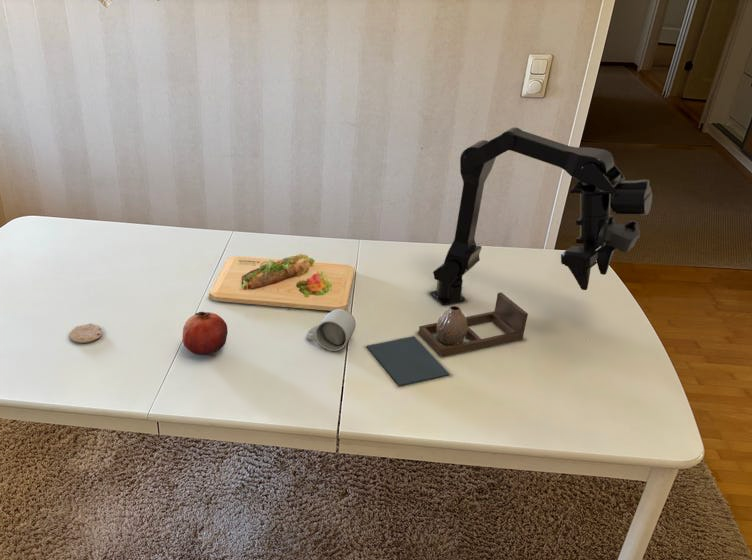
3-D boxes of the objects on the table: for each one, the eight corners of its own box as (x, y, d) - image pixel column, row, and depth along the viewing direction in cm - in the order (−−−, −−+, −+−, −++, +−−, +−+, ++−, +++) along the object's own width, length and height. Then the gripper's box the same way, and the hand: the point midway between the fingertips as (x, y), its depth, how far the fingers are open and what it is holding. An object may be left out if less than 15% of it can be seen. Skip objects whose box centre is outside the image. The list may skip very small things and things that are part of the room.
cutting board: (354, 270, 197) (356, 245, 193) (345, 314, 178) (347, 286, 174) (229, 260, 203) (228, 236, 199) (207, 302, 184) (205, 275, 180)
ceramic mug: (356, 336, 170) (358, 307, 165) (346, 354, 163) (347, 325, 159) (314, 328, 173) (314, 299, 169) (302, 345, 167) (302, 316, 163)
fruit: (192, 368, 160) (189, 329, 154) (176, 346, 167) (172, 308, 161) (236, 355, 164) (234, 317, 158) (218, 334, 171) (216, 297, 165)
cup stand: (418, 333, 171) (421, 307, 167) (496, 317, 176) (501, 292, 172) (441, 357, 162) (445, 330, 158) (522, 339, 168) (528, 313, 164)
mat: (366, 347, 166) (366, 345, 166) (413, 337, 169) (414, 336, 169) (399, 386, 153) (399, 384, 153) (449, 375, 157) (449, 373, 156)
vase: (465, 350, 164) (471, 317, 160) (434, 347, 166) (439, 314, 161) (465, 334, 170) (470, 301, 165) (435, 331, 171) (439, 298, 166)
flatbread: (100, 343, 168) (99, 339, 168) (67, 344, 168) (66, 341, 167) (104, 325, 175) (103, 321, 174) (72, 326, 174) (72, 322, 174)
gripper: (614, 230, 141) (612, 304, 148) (653, 201, 152) (650, 271, 159) (559, 226, 149) (560, 296, 156) (600, 198, 160) (599, 265, 167)
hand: (593, 281), depth 159 cm, fingers open, 9 cm apart
